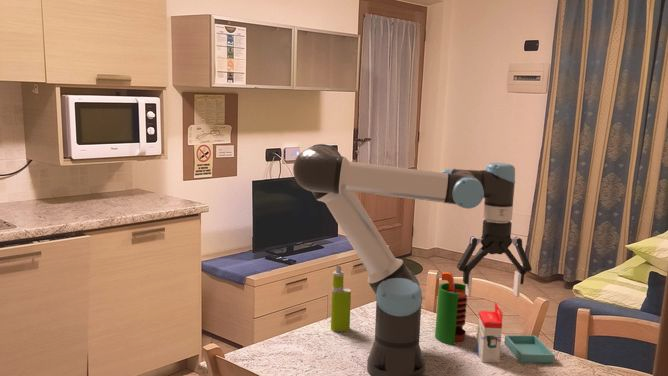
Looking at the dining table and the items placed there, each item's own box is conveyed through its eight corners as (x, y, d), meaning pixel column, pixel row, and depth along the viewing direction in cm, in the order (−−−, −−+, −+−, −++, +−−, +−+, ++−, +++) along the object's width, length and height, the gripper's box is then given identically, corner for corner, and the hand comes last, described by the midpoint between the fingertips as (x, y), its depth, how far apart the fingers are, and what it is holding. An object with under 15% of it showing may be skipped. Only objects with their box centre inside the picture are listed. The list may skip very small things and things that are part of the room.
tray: (520, 363, 159) (521, 354, 158) (504, 343, 172) (504, 335, 171) (553, 363, 159) (554, 354, 159) (534, 343, 172) (535, 335, 172)
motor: (465, 346, 169) (469, 280, 166) (434, 342, 171) (438, 277, 167) (464, 332, 179) (468, 270, 176) (435, 329, 180) (439, 267, 177)
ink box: (475, 349, 167) (478, 300, 165) (492, 349, 167) (496, 301, 165) (481, 362, 159) (485, 311, 156) (499, 363, 158) (503, 312, 156)
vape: (330, 326, 180) (331, 264, 177) (349, 326, 181) (351, 265, 177) (330, 331, 177) (332, 268, 174) (350, 331, 177) (352, 268, 174)
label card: (477, 341, 172) (477, 340, 172) (471, 333, 178) (471, 332, 178) (493, 341, 172) (493, 340, 172) (487, 333, 178) (487, 332, 178)
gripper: (455, 222, 152) (451, 299, 156) (548, 223, 154) (541, 299, 157) (448, 216, 160) (444, 290, 163) (536, 217, 161) (530, 290, 165)
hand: (492, 295), depth 160 cm, fingers open, 13 cm apart
